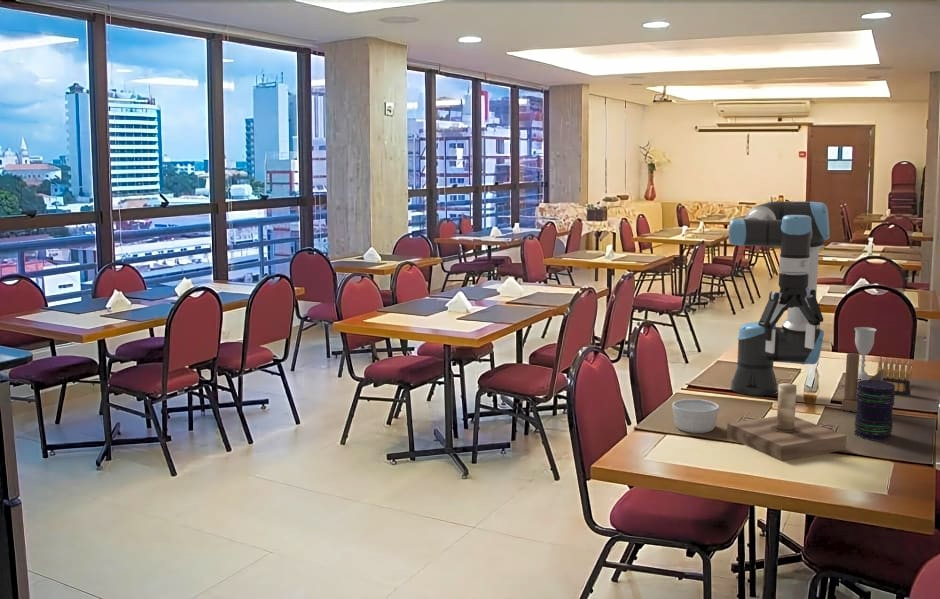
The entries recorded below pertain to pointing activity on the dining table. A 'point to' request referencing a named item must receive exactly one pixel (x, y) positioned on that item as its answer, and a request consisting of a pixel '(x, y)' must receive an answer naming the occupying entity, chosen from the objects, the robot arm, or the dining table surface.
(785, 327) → the robot arm
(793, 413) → the beech leg
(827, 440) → the walnut board
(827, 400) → the dining table surface
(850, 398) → the wooden peg block
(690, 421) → the ramekin
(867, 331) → the chalice
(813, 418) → the dining table surface
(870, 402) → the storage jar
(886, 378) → the ammunition clip
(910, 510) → the dining table surface
